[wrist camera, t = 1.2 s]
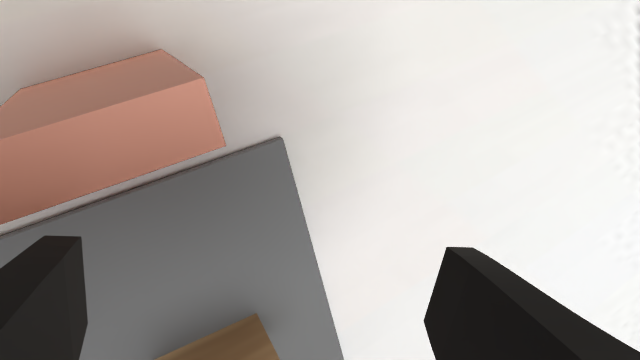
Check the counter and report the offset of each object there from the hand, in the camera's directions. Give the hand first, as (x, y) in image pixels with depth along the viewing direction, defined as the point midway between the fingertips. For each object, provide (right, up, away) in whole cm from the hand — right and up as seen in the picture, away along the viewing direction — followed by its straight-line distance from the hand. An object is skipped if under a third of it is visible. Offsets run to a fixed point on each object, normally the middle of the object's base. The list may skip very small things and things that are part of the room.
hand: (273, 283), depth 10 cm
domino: (-7, +5, +8) cm, 12 cm away
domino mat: (-3, -11, +15) cm, 19 cm away
